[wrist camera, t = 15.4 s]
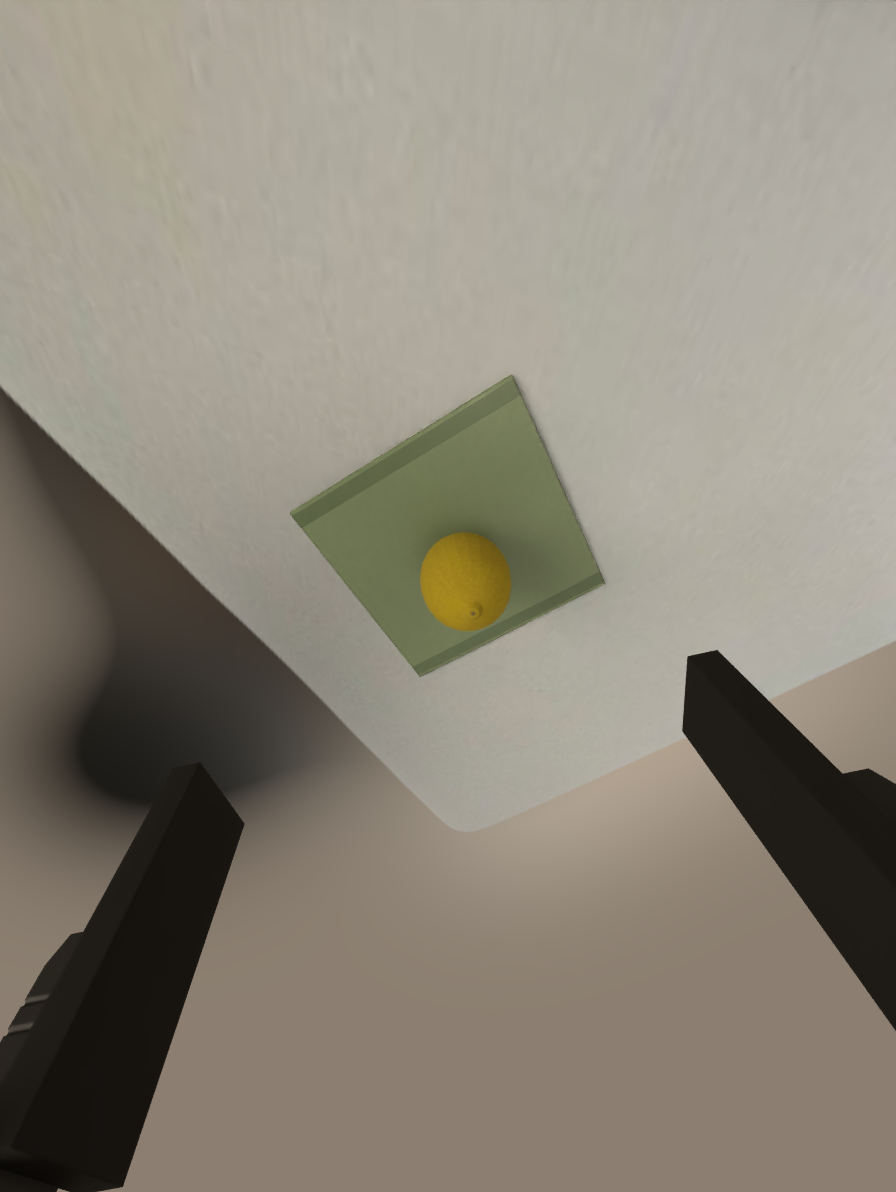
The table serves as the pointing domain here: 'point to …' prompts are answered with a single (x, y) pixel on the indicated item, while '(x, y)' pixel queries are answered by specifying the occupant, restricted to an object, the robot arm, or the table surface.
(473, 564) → the lemon
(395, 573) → the napkin
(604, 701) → the table surface
